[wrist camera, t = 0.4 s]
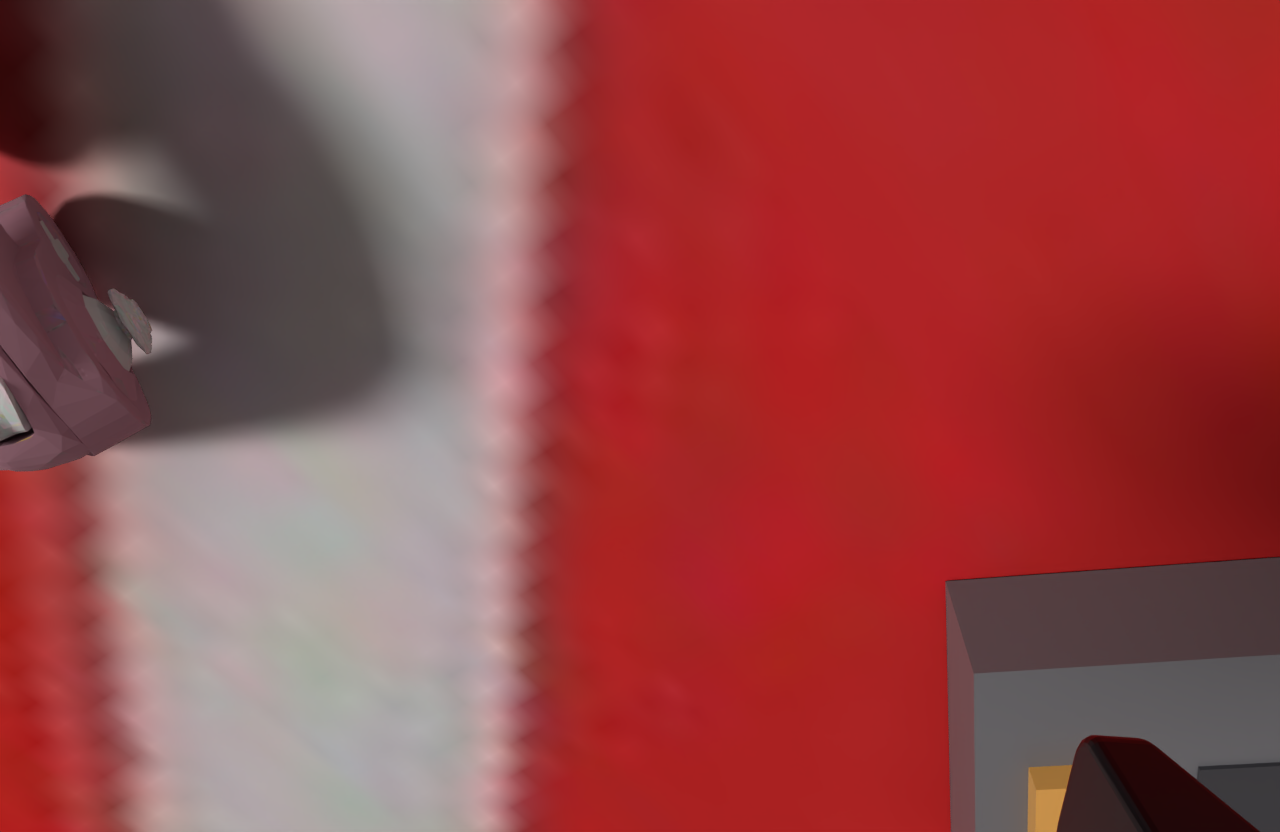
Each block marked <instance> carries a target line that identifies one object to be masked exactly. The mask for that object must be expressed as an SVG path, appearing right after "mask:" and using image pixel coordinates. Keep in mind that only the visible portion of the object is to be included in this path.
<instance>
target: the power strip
mask: <svg viewBox="0 0 1280 832" xmlns="http://www.w3.org/2000/svg"><path fill="white" fill-rule="evenodd" d="M946 626H947V672H948V717H949V763H950V809H951V832H1057V826H1058V821H1059V817H1060V813H1061V809H1062V805H1063V801H1064V797H1065V793H1066V789H1067V785H1068V780H1069V776H1070V772H1071V768H1072V764H1073V760H1074V756H1075V753H1076V750H1077V748H1078V746H1079V744H1080V743H1081V741H1082V740H1083V739H1085V738H1086V737H1088V736H1090V735H1103V736H1118V737H1133V738H1141V739H1145V740H1147V741H1149V742H1151V743H1152V744H1154V745H1155V746H1157V747H1158V748H1159V749H1160V750H1162V751H1163V752H1164V753H1165V754H1166V755H1168V756H1169V757H1170V758H1171V759H1172V760H1174V761H1175V762H1176V763H1177V764H1179V765H1180V766H1181V767H1182V768H1183V769H1185V770H1186V771H1187V772H1188V773H1190V774H1191V775H1192V776H1193V777H1194V778H1196V779H1197V780H1198V781H1199V782H1201V783H1202V784H1203V785H1204V786H1205V787H1207V788H1208V789H1209V790H1210V791H1212V792H1213V793H1214V794H1215V795H1216V796H1218V797H1219V798H1220V799H1221V800H1222V801H1224V802H1225V803H1226V804H1227V805H1229V806H1230V807H1231V808H1232V809H1233V810H1235V811H1236V812H1237V813H1238V814H1240V815H1241V816H1242V817H1243V818H1244V819H1246V820H1247V821H1248V822H1249V823H1251V824H1252V825H1253V826H1254V827H1255V828H1257V829H1258V830H1259V831H1260V832H1280V557H1276V558H1262V559H1248V560H1234V561H1220V562H1206V563H1192V564H1178V565H1164V566H1151V567H1137V568H1123V569H1109V570H1095V571H1081V572H1067V573H1053V574H1039V575H1025V576H1011V577H997V578H983V579H969V580H955V581H946Z"/></svg>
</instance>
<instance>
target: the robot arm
mask: <svg viewBox="0 0 1280 832" xmlns="http://www.w3.org/2000/svg"><path fill="white" fill-rule="evenodd" d="M1057 832H1260V831H1259V830H1258V829H1257V828H1255V827H1254V826H1253V825H1252V824H1251V823H1249V822H1248V821H1247V820H1246V819H1244V818H1243V817H1242V816H1241V815H1240V814H1238V813H1237V812H1236V811H1235V810H1233V809H1232V808H1231V807H1230V806H1229V805H1227V804H1226V803H1225V802H1224V801H1222V800H1221V799H1220V798H1219V797H1218V796H1216V795H1215V794H1214V793H1213V792H1212V791H1210V790H1209V789H1208V788H1207V787H1205V786H1204V785H1203V784H1202V783H1201V782H1199V781H1198V780H1197V779H1196V778H1194V777H1193V776H1192V775H1191V774H1190V773H1188V772H1187V771H1186V770H1185V769H1183V768H1182V767H1181V766H1180V765H1179V764H1177V763H1176V762H1175V761H1174V760H1172V759H1171V758H1170V757H1169V756H1168V755H1166V754H1165V753H1164V752H1163V751H1162V750H1160V749H1159V748H1158V747H1157V746H1155V745H1154V744H1152V743H1151V742H1149V741H1147V740H1145V739H1141V738H1133V737H1118V736H1103V735H1090V736H1088V737H1086V738H1085V739H1083V740H1082V741H1081V743H1080V744H1079V746H1078V748H1077V750H1076V753H1075V756H1074V760H1073V764H1072V768H1071V772H1070V776H1069V780H1068V785H1067V789H1066V793H1065V797H1064V801H1063V805H1062V809H1061V813H1060V817H1059V821H1058V826H1057Z"/></svg>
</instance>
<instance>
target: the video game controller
mask: <svg viewBox="0 0 1280 832" xmlns="http://www.w3.org/2000/svg"><path fill="white" fill-rule="evenodd" d="M108 295H109V298H110V301H111V303H112V304H113V306H114V308H115V311H113V310H111V309H110V308H108V307H107V306H105V305H104V304H102V303H101V302H100V301H98V300H97V297H96V295H95V292H94V289H93V287H92V284H91V282H90V280H89V278H88V277H87V275H86V273H85V271H84V269H83V267H82V266H81V264H80V262H79V260H78V258H77V257H76V255H75V253H74V252H73V250H72V249H71V247H70V246H69V244H68V242H67V241H66V239H65V238H64V236H63V234H62V233H61V231H60V230H59V228H58V227H57V225H56V224H55V223H54V221H53V220H52V218H51V217H50V215H49V214H48V213H47V212H46V211H45V210H44V208H43V207H42V206H41V205H40V204H39V203H38V201H37V200H36V199H35V198H33V197H32V196H30V195H26V194H25V195H23V196H21V197H18V198H16V199H14V200H12V201H9V202H7V203H5V204H3V205H0V470H12V471H36V470H43V469H49V468H52V467H55V466H58V465H61V464H64V463H68V462H71V461H74V460H77V459H80V458H82V457H84V456H85V455H90V456H95V455H97V454H99V453H101V452H103V451H104V450H106V449H108V448H110V447H112V446H113V445H115V444H117V443H119V442H121V441H122V440H124V439H126V438H128V437H130V436H131V435H133V434H135V433H137V432H139V431H140V430H142V429H144V428H146V427H148V426H149V425H150V424H151V413H150V409H149V405H148V403H147V401H146V398H145V396H144V393H143V391H142V389H141V386H140V384H139V381H138V379H137V377H136V376H135V374H134V372H133V370H132V367H131V363H132V346H131V339H132V338H133V339H134V341H135V343H136V344H137V345H138V346H139V347H140V348H141V349H142V350H143V351H144V352H145V353H146V354H149V353H151V350H152V345H151V343H152V336H151V334H150V333H151V331H152V329H151V326H150V324H149V322H148V320H147V319H146V317H145V315H144V313H143V312H142V311H141V309H140V308H139V306H138V305H137V303H136V302H135V301H134V300H133V299H129V298H128V297H127V296H126V295H125V294H122V293H120V292H118V291H117V290H116V289H114V288H113V289H110V290H108Z"/></svg>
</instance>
